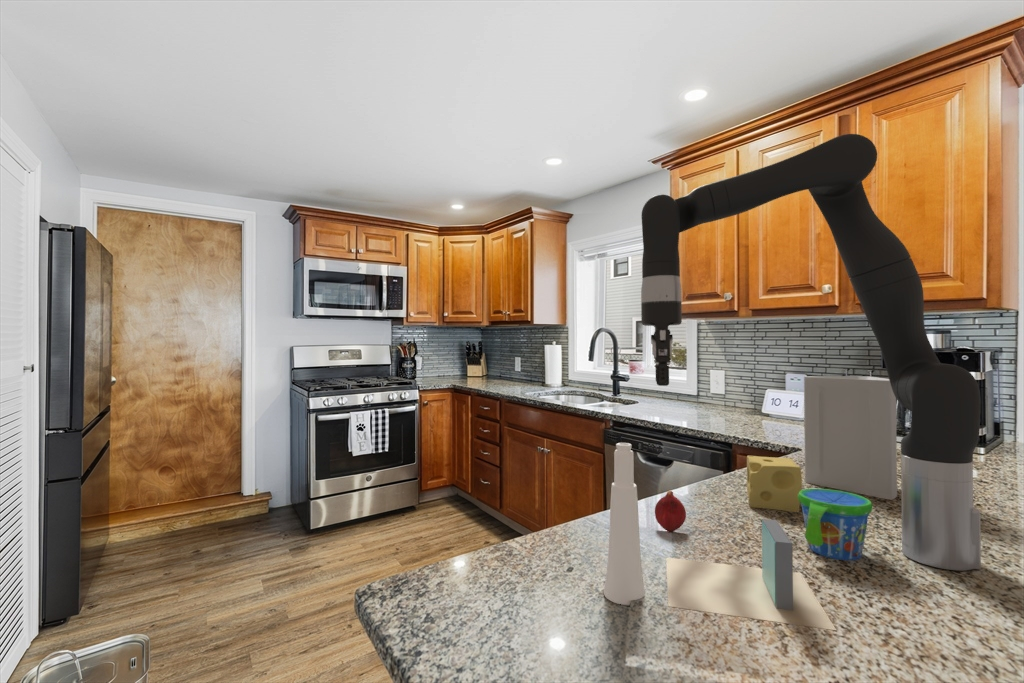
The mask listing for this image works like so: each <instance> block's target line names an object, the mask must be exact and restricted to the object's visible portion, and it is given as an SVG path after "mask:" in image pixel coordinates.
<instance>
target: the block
mask: <svg viewBox="0 0 1024 683" xmlns="http://www.w3.org/2000/svg"><path fill="white" fill-rule="evenodd" d="M793 546H794V545H793V542H792V541H791V539H790V538H789V536H788V535H787V533H786V532H785V530H784V528H783V527H782V526H781V524H780V523H779V521H778V520H777V519H776V520H775V519H768V518H765V519H764V518H762V519H761V562H762V563H761V568H762V577H763V580H764V582H765V584H766V587H767V589H768V591H769V593H770V595H771V598H772V600H773V602H774V604H775V606H776V608H777V609H784V610H791V611H793V572H794V565H793V560H794V559H793V557H794V556H793V555H794V554H793V548H794V547H793Z"/></svg>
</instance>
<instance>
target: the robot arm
mask: <svg viewBox="0 0 1024 683" xmlns="http://www.w3.org/2000/svg"><path fill="white" fill-rule="evenodd" d="M877 161H878V150H877V147H876V145H875V144H874V143H873V141H872V140H871V139H870V138H868V137H866V136H865V135H861V134H858V133H845V134H841V135H838V136H835V137H833V138H831V139H828V140H827V141H825V142H822V143H820V144H818V145H816V146H813V147H810V148H809V149H808V150H804V151H802V152H801V153H798V154H795V155H793V156H790V157H788V158H786V159H783V160H781V161H778V162H775V163H772V164H770V165H767V166H766V165H765V166H764V167H760V168H757V169H754V170H751V171H748V172H744V173H742V174H738V175H734V176H732V177H727V178H724V179H721V180H717V181H714V182H710V183H707V184H704V185H700V186H698V187H695V188H694V189H692V191H690V192H689V193H688V194H686V195H684V196H681V197H678V198H674V197H672V196H671V195H668V194H663V193H661V194H660V193H659V194H656V195H653V196H651V197H650V198H649V199H648V200H647V201H646V202H645V203H644V205H643V208H642V209H641V210H642V211H641V230H642V246H643V247H642V248H643V251H642V262H641V264H642V265H641V266H642V267H641V269H642V270H641V274H642V280H641V288H640V290H641V291H640V294H641V296H640V297H641V298H640V300H641V301H640V302H641V303H640V304H641V306H640V307H641V311H640V312H641V313H640V314H641V315H640V316H641V317H640V318H641V320H640V321H641V325H643V326H645V327H646V326H647V327H654V330H655V331H654V332H653V334H651V335H650V343H651V349H652V350H651V351H652V356H653V359H654V360H653V362H654V364H655V382H656V385H657V386H664V387H665V386H666V387H667V386H669V385H670V364H671V360H672V354H673V353H672V352H673V348H672V346H673V345H672V344H673V343H674V342H673V334H671V331H670V329H669V326H679V325H681V324H682V323H683V322H682V320H683V319H682V317H683V316H682V312H683V311H682V310H683V309H682V285H681V277H680V269H681V267H680V253H679V252H680V251H679V242H680V241H679V240H680V238H679V237H680V234H681V233H683V232H686V231H688V230H690V229H693V228H695V227H698V226H699V225H703V224H707V223H711V222H715V221H720V220H722V219H727V218H730V217H734V216H736V215H740V214H743V213H745V212H748V211H750V210H754V209H756V208H759V207H760V206H762V205H765V204H768V203H769V202H773V201H775V200H778V199H780V198H783V197H786V196H788V195H789V196H790V195H791V194H796V193H799V192H802V191H807V190H808V192H809V194H810V195H811V197H812V199H813V200H814V202H815V204H816V206H817V207H818V208H819V211H820V212H821V214H822V216H823V218H824V219H825V221H826V223H827V225H828V227H829V230H830V231H831V234H832V237H833V240H834V243H835V245H836V248H837V250H838V253H839V255H840V258H841V260H842V263H843V265H844V267H845V270H846V274H847V276H848V279H849V281H850V284H851V286H852V289H853V291H854V293H855V295H856V297H857V299H858V302H859V303H860V305H861V308H862V310H863V313H864V315H865V317H866V319H867V320H866V321H867V322H868V324H869V326H870V328H871V331H872V332H873V334H874V336H875V339H876V341H877V343H878V347H879V349H880V351H881V354H882V359H883V361H884V365H885V369H886V373H887V375H888V376H887V377H888V379H889V380H890V384H891V387H892V390H893V393H894V395H895V397H896V401H897V402H898V403H899V404H900V405H901V406H903V407H904V408H905V409H907V410H908V411H910V412H911V415H910V416H911V417H910V429H909V432H908V434H907V435H905V436H903V437H902V438H901V440H900V473H901V474H900V478H901V480H900V482H901V484H900V485H901V486H900V488H901V491H900V492H901V552H902V554H903V555H904V556H905V557H907V558H908V559H910V560H912V561H915V562H918V563H920V564H923V565H926V566H930V567H933V568H938V569H944V570H951V571H970V570H982V548H981V547H982V546H981V545H982V542H981V540H982V536H981V533H982V532H981V511H980V510H979V509H978V508H976V507H974V466H973V464H974V462H973V460H974V452H975V449H976V448H977V445H978V444H979V439H980V432H981V431H980V430H981V428H980V427H981V408H982V407H981V404H982V403H981V401H982V400H981V398H982V397H981V391H980V387H979V386H980V385H979V384H978V381H977V380H976V377H975V376H974V375H973V374H971V372H969V371H968V370H967V369H965V368H963V367H962V366H959V365H956V364H951V363H942V362H940V360H939V357H938V356H937V355H936V352H935V351H934V349H933V346H932V344H931V342H930V340H929V338H928V335H927V332H926V328H925V322H924V321H925V319H924V318H925V317H924V303H925V302H924V289H923V283H922V280H921V278H920V275H919V272H918V271H917V268H916V266H915V264H914V261H913V259H912V258H911V254H910V252H909V250H908V249H907V247H906V245H904V243H903V242H902V240H900V238H899V237H898V236H897V235H896V234H895V233H894V232H893V231H892V230H891V229H890V228H889V227H888V226H887V225H886V224H885V223H883V222H882V220H880V218H879V217H878V216H877V215H876V214H875V211H874V210H873V208H872V206H871V204H870V202H869V199H868V196H867V193H866V191H865V188H864V184H863V181H864V180H866V178H867V177H868V176H869V175H870V173H872V171H873V170H874V167H876V166H875V165H876V164H877Z"/></svg>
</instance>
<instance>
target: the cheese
mask: <svg viewBox="0 0 1024 683" xmlns="http://www.w3.org/2000/svg"><path fill="white" fill-rule="evenodd" d="M746 475H747V476H746V487H747V488H746V492H747V493H746V494H747V498H748V504H749V506H748V507H749V508H754V509H764V510H767V509H768V510H774V511H776V510H777V511H783V512H790V513H799V512H800V505H801V503H800V502H799V499H798V494H799V492H800V491H801V490H803V488H802V487H803V476H802V469H801V467H800V466H799V465H798V464H796V463H795V461H794V459H793V458H787V457H774V456H773V457H772V456H770V457H769V456H760V455H759V456H757V455H747V456H746Z"/></svg>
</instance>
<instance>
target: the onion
mask: <svg viewBox="0 0 1024 683" xmlns="http://www.w3.org/2000/svg"><path fill="white" fill-rule="evenodd" d="M685 508H686V507H685V506H684V504H683V503H682V501H681V500H680V499H679V498H678V497H676V496H674V491H672V490H668V491H667V492H666V494H665V496H663V497H661V498H660V499H659V500H658V501H657V503H656V504H655V507H654V516H655V519H656V522H657V523H658V524H659V525H660V527H661V528H663V530H665V531H666V530H667V531H666V532H668V531H669V532H668V533H673V532H675V531H677V530H678V529H680V528H681V527H682V526H683V524H684V523H685V522H686V518H687V512H686V509H685Z"/></svg>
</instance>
